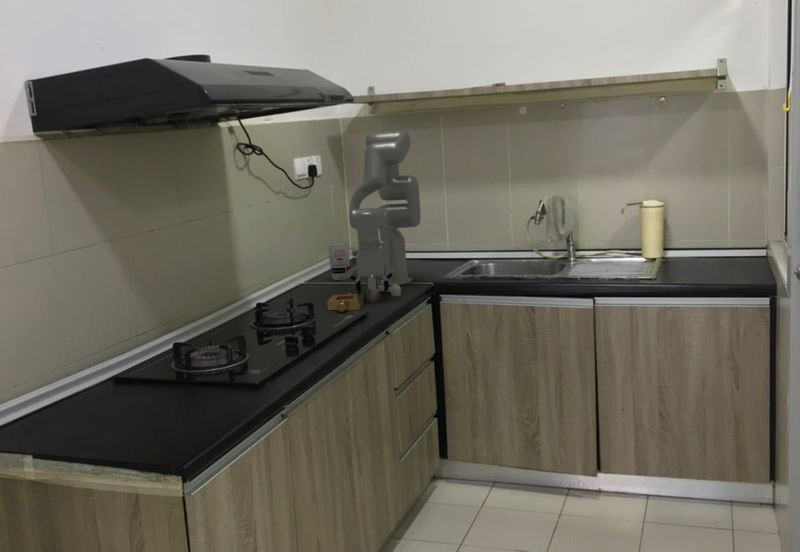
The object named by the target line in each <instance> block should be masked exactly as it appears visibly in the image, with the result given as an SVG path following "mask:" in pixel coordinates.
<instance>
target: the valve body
mask: <svg viewBox="0 0 800 552" xmlns="http://www.w3.org/2000/svg"><path fill="white" fill-rule="evenodd" d="M363 295H364V293H360V294H358V293H352V292H348V293H345V294H334V295H331V296H330V298H329V299H328V300H327V301H326V304H327V311H328V310H337V311H336V312H338V311H345V310H346V311H359V310H361V307H362V306H363V304H364V296H363ZM346 311H345V312H346Z"/></svg>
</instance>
